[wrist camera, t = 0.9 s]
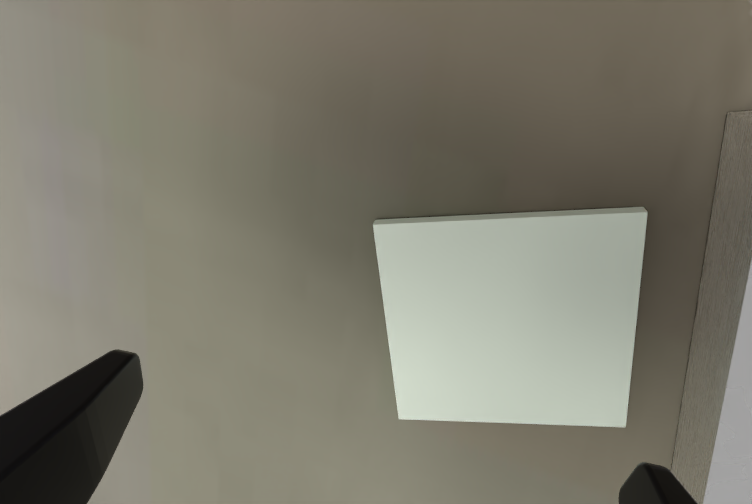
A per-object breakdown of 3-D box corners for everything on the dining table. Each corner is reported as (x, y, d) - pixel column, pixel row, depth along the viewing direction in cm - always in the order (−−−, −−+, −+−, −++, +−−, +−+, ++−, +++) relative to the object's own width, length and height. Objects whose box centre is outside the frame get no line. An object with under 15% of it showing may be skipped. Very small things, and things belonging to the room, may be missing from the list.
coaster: (622, 418, 25) (625, 427, 25) (400, 410, 27) (398, 419, 27) (643, 206, 21) (647, 212, 20) (375, 219, 23) (372, 224, 22)
